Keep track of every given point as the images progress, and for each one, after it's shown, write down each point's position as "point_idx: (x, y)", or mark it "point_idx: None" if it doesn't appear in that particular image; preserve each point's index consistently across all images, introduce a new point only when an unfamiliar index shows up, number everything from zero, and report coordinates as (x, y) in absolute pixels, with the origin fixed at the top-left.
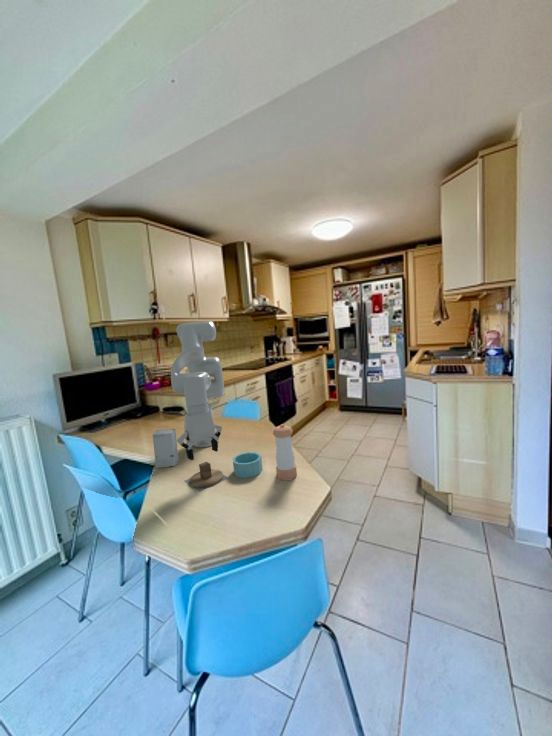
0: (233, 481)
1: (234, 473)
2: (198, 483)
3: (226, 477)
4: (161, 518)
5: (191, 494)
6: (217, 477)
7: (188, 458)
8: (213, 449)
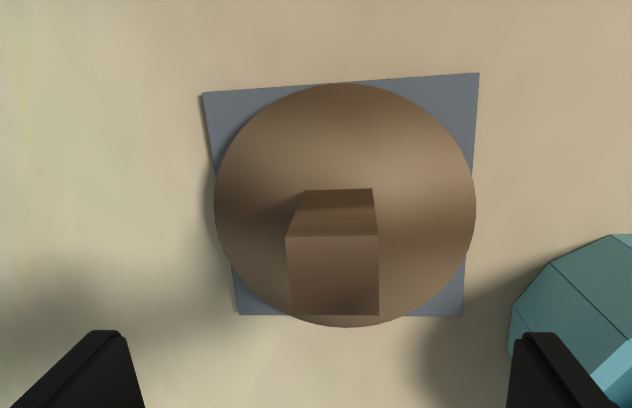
0: (455, 352)
1: (520, 319)
2: (254, 263)
3: (453, 297)
4: (33, 362)
5: (197, 289)
6: (393, 292)
7: (98, 332)
8: (518, 389)
